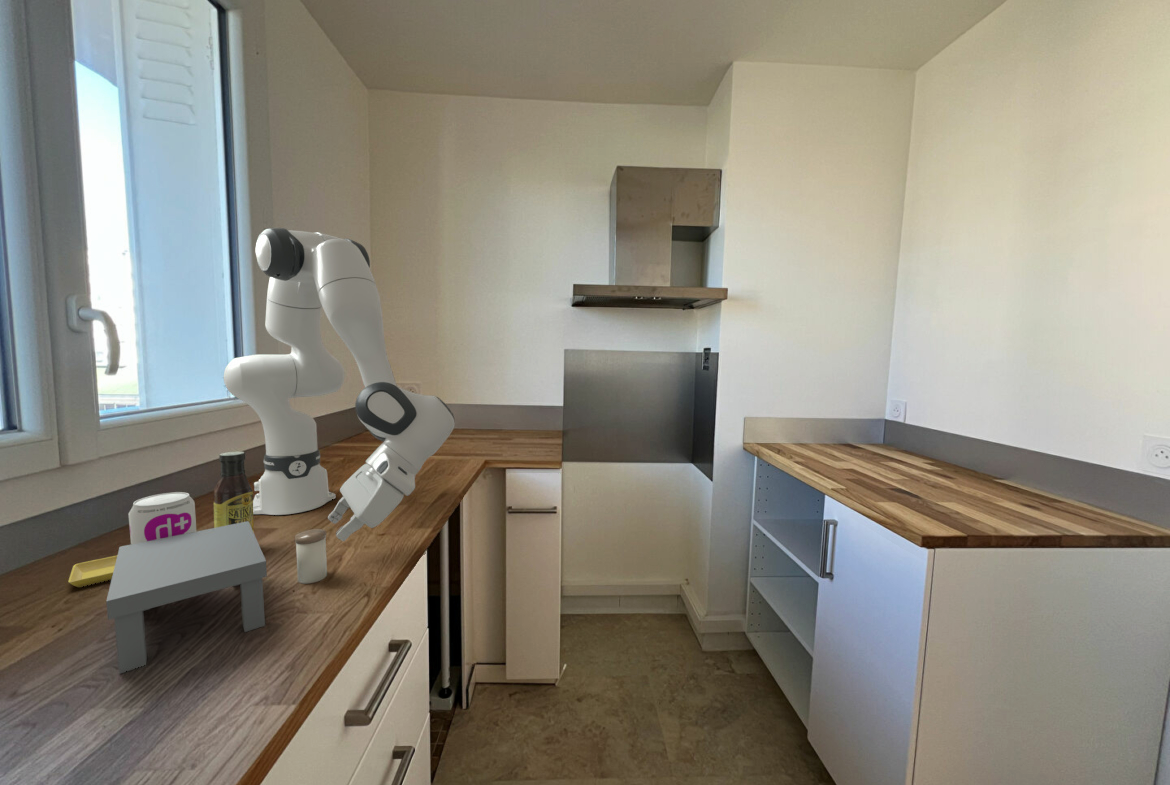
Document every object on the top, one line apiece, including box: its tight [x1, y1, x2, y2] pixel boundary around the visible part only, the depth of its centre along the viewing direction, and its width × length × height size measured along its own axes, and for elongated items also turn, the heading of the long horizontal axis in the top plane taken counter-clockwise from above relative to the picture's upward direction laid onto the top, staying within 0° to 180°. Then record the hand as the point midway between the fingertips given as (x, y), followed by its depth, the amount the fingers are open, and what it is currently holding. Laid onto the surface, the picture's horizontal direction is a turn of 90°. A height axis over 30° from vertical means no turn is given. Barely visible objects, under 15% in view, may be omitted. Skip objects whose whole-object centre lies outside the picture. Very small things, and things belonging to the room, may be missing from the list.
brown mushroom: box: [294, 528, 328, 585], centre depth 80 cm, size 5×5×8 cm
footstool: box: [105, 521, 268, 675], centre depth 68 cm, size 20×16×10 cm
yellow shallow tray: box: [68, 554, 118, 588], centre depth 81 cm, size 9×9×2 cm
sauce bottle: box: [213, 451, 255, 534], centre depth 90 cm, size 6×6×20 cm
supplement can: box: [128, 491, 197, 545], centre depth 77 cm, size 8×8×15 cm
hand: (334, 529), depth 82 cm, fingers open, 8 cm apart
